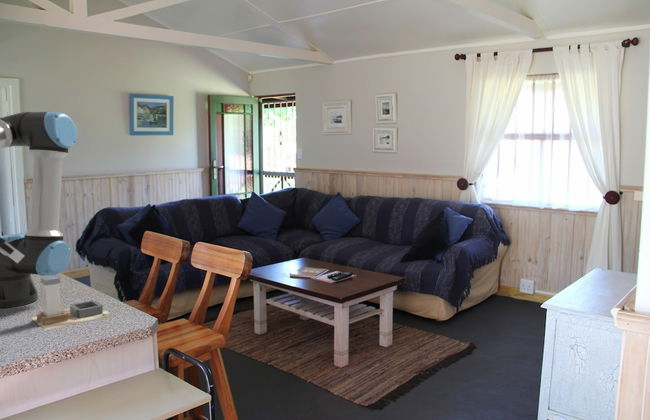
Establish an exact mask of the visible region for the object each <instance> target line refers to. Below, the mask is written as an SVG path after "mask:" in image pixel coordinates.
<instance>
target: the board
mask: <svg viewBox="0 0 650 420" xmlns="http://www.w3.org/2000/svg"><path fill="white" fill-rule="evenodd" d="M63 310H65V311H66V312H68V317H69V319H68V321H63V322H59V323H54V324H49V325H42V324H41V323H40V322H39V321H38V320H37V314H34V315H29V318H30V319H31V320H33V322H35V323H36V324H37V325H38V326H39V327H40V328H42V329H43V330H44V331H48V330H53V329H57V328H63V327H67V326H72V325H77V324H80V323H87V322H91V321H96V320H100V319H104V318H110V317H114V316H115V315H114V314H112V313H110V312H109V311H107V310H105V309H104V308H103V313H106V315H103V313H102V314H99V315H94V316H89V317H84V318H79V317H78V318H76V317H75V316H73V315H72V314H71V313H70V308H66V309H63Z"/></svg>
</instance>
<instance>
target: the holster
mask: <svg viewBox="0 0 650 420" xmlns="http://www.w3.org/2000/svg"><path fill="white" fill-rule="evenodd" d="M61 312H62V314H61V315H56V316H51V317H44V314H43V311H39V312H37V313H36V315H37V320H38V321H39V322H40V323H41V324H42V325H49V324H54V323H59V322H63V321H68V319H69V317H68V312H66V311H65V310H64V309H63V308H61Z"/></svg>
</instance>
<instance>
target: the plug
mask: <svg viewBox="0 0 650 420" xmlns="http://www.w3.org/2000/svg"><path fill="white" fill-rule="evenodd" d="M40 283H41V295H42V298H41V299H42V310H43V311H42V312H43V314H44V317H51V316H56V315H61V314H62V312H61V309H62V299H61V296H62V295H61V278H60V277H59V276H57V275H53V276H42V277H40Z"/></svg>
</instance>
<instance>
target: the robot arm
mask: <svg viewBox="0 0 650 420" xmlns="http://www.w3.org/2000/svg"><path fill="white" fill-rule="evenodd" d="M77 138H78V131H77V125H76V124H75V122H74V121H73V120H72V118H71V117H70V115H67V114H66V113H64V112H58V111H51V110H50V111H22V112H18V113H14V114H11V115H6V116H3V117H0V148H1V149H6V148H9V147H28V148H29V149H28V151H29V153H31V154H32V156H33V170H32V172H33V174H32V187H31V188H32V189H31V190H32V192H31V208H30V209H31V211H30V227H29V230H27V231H26V232H19V233H10V234H6V235H5V234H3V235H0V308H13V307H20V306H25V305H29V304H32V303H34V302H36V301H37V300H39V293H38V290H37V287H36V285H35V283H34V281H33V279H32V275H39V276H41V277H49V276H57V275H59V274H61V273H62V272H63V271H64V270H65V268H67V267H68V264H69V263H70V259H71V254H72V253H71V248H70V246H69V243H67V242H65V241H64V234H63V233H62V232H61V231H60V215H61V199H62V181H63V180H62V177H63V161H64V158H66V157H67V156H68V155H69V148H72V147H73V146H74V145H75V143H76V142H77Z"/></svg>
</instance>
